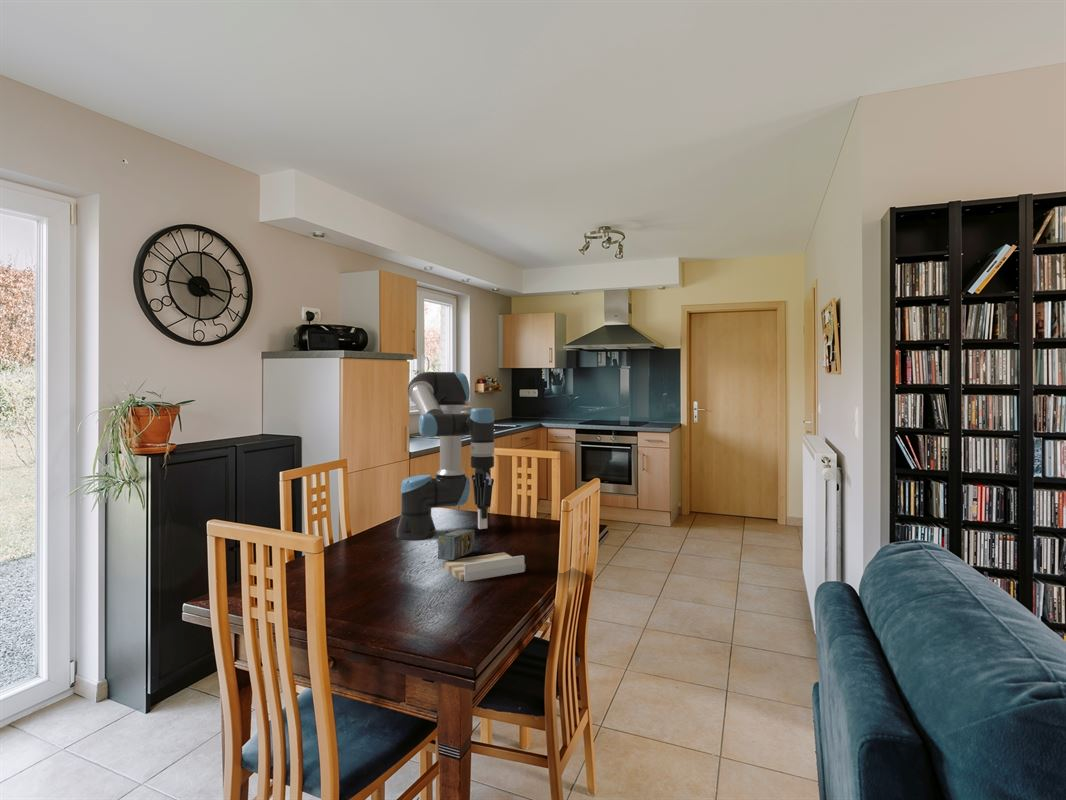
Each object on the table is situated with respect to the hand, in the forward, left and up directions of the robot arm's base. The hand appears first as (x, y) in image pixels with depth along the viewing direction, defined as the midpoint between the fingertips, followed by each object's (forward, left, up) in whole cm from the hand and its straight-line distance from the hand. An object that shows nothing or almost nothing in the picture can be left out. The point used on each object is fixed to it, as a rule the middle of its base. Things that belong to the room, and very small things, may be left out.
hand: (482, 528), depth 178 cm
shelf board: (+1, 0, -13) cm, 13 cm away
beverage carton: (-18, +2, -14) cm, 23 cm away
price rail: (+10, 0, -13) cm, 16 cm away
